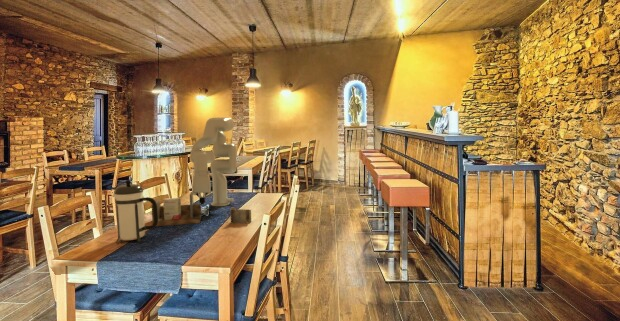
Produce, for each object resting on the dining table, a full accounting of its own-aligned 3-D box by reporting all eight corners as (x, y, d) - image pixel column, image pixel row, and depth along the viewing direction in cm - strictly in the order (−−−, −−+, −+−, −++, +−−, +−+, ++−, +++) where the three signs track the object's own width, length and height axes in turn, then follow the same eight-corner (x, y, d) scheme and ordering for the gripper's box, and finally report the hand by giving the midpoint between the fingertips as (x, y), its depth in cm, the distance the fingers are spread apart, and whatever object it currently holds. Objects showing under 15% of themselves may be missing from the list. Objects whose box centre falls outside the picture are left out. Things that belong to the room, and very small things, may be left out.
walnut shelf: (201, 215, 219) (200, 196, 218) (199, 222, 204) (198, 202, 202) (157, 218, 213) (156, 199, 212) (152, 226, 198) (151, 205, 196)
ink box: (181, 217, 210) (180, 197, 209) (178, 219, 205) (177, 199, 204) (167, 217, 210) (166, 197, 209) (163, 219, 205) (162, 199, 204)
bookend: (200, 214, 216) (199, 191, 214) (200, 218, 207) (199, 194, 205) (191, 214, 214) (190, 192, 213) (190, 218, 206) (189, 195, 204)
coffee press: (123, 247, 165) (118, 184, 161) (110, 240, 175) (105, 180, 172) (159, 238, 178) (156, 179, 174) (145, 231, 188) (142, 175, 185)
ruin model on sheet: (230, 223, 204) (229, 206, 203) (232, 222, 207) (231, 205, 206) (249, 224, 202) (249, 207, 201) (251, 222, 205) (250, 206, 204)
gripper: (214, 171, 214) (215, 201, 216) (188, 173, 211) (189, 203, 213) (214, 173, 207) (215, 204, 209) (187, 174, 203) (188, 206, 205)
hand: (202, 203), depth 211 cm, fingers closed
